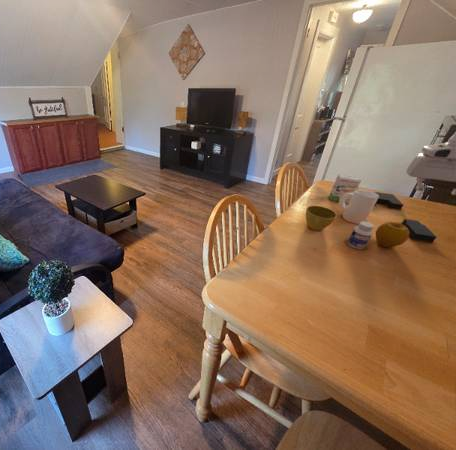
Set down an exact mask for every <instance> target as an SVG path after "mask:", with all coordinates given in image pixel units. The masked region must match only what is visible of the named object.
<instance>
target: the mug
mask: <svg viewBox="0 0 456 450" xmlns="http://www.w3.org/2000/svg"><path fill="white" fill-rule="evenodd" d="M374 192H375V191H372V190H369V189H368V190H367V189H363V188H362V189H361V188H360V189H358V188H357V190H355V191H354V193H347V194H345V195H343V196H342V197H341V198H340V200H339V201H338V206H339V207H340V209H341V210H342V211H343V214H342V218H343V219H344V220H345V221H347V222H350V223H353V224H356V225H357V224H358V225H359V223H360V222H362V221H364V222H367V220H368V218H369V216H370V214H371V213H372V210H373V209H374V207H375V206H376V205H375V203H376V201H377V199H378V198H379V195H378V194H377V193H374ZM349 197H351V199H350V202H349V203H347V206H346V203H345V200H346V199H347V198H349ZM376 204H377V203H376ZM374 205H375V206H374Z"/></svg>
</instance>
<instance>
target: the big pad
mask: <svg viewBox="0 0 456 450" xmlns="http://www.w3.org/2000/svg"><path fill="white" fill-rule="evenodd" d="M373 192H374V193H377V194H378V195H379V198H378V199H377V201H376V203H375V205H374V207H375V206H377V204H380V205H386V206H387V207H388V208H389V209H394V210H402V208H403V207H404V204H403V203H402V201H400V199H398V198H397V196H396V195H394V194H393V193H385V192H377V191H373Z"/></svg>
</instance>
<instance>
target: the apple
mask: <svg viewBox="0 0 456 450" xmlns="http://www.w3.org/2000/svg"><path fill="white" fill-rule="evenodd" d="M409 234H410V232H409V230H408V228H406V227H405V226H404V225H402V223H400V222H396V221H386V222H384V223H382V224H380V225H379V226H378V227H377V229H376V231H375V240H376V242H377V243H378V245H379V246H381V247H384V248H395V247H397V246H400V245H403V244H404V243H405V242H407V240H408V239H409V237H410V236H409Z"/></svg>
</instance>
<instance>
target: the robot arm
mask: <svg viewBox="0 0 456 450" xmlns="http://www.w3.org/2000/svg"><path fill="white" fill-rule="evenodd" d="M421 152H422V153H419V154H417V155H416V156H415V157H414V158H413V159H412V161H411V162H410V164H409V165H408V166H407V168H406V174H407V175H408V176H409V177H412V178H416V179H415V180H416V186H415V191H419V192H420V191H421V192H423V191H424V189H425V187H426V186H425V185H424V184H423V182H425V181H426V179H428V180H437V181H445V182H452V183H456V131H455V132H454V133H453V134H452V135H451V136H450V137H449V138H448V140H447V141H446V142H442V143H435V144H428V145H424V146H423V147H422V148H421ZM450 194H451V195H453V196H456V188H453V189H452V191H451V193H450Z"/></svg>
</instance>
